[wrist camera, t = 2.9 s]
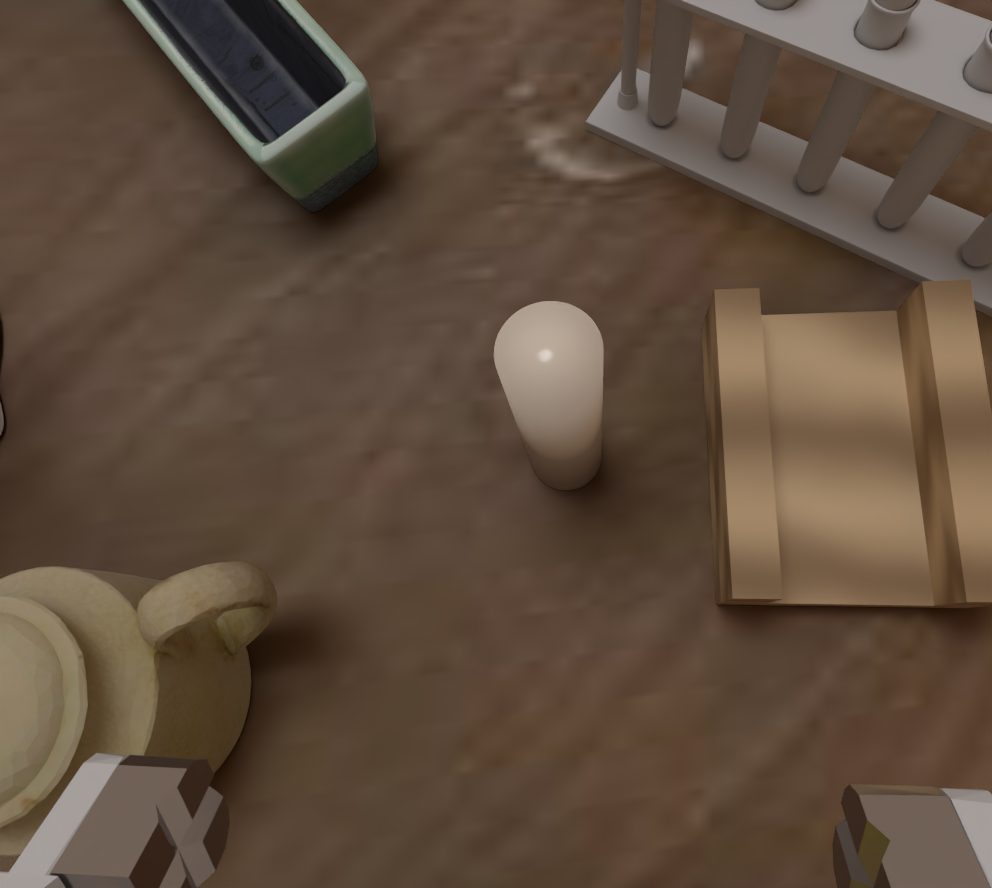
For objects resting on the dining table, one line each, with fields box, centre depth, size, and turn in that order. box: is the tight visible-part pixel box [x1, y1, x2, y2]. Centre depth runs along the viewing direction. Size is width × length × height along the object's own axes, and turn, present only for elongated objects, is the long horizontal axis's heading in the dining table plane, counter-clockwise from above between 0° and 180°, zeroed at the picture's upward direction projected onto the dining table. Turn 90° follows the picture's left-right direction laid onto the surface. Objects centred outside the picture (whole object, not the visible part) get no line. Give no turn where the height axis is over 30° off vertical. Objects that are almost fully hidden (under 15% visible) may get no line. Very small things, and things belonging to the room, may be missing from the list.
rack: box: [701, 280, 992, 608], centre depth 34 cm, size 14×11×4 cm
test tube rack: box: [586, 0, 992, 317], centre depth 34 cm, size 25×4×13 cm, turn 56°
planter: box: [122, 0, 378, 212], centre depth 44 cm, size 28×7×7 cm, turn 38°
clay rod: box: [494, 301, 603, 490], centre depth 31 cm, size 4×4×14 cm
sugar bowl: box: [0, 561, 277, 857], centre depth 31 cm, size 15×11×15 cm
